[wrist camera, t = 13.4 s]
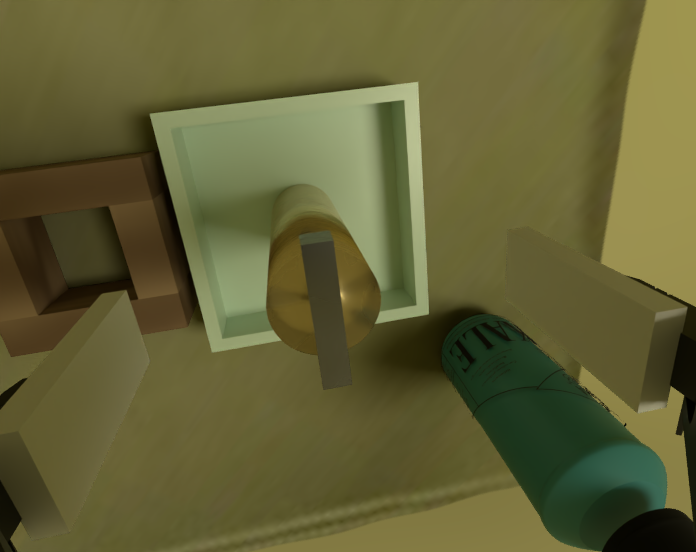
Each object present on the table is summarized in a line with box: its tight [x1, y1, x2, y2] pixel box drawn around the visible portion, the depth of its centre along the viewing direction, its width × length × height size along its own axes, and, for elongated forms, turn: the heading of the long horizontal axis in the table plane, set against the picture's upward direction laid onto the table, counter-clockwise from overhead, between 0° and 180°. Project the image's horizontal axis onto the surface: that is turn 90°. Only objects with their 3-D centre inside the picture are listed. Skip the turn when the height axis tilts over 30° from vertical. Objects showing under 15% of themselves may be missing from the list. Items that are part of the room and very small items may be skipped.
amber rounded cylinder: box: [266, 184, 381, 390], centre depth 21 cm, size 5×4×15 cm
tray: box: [150, 82, 429, 353], centre depth 27 cm, size 14×14×4 cm
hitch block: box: [0, 150, 198, 357], centre depth 26 cm, size 10×10×4 cm
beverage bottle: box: [441, 314, 696, 552], centre depth 26 cm, size 6×7×20 cm
